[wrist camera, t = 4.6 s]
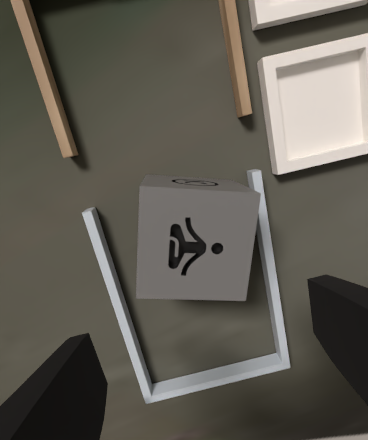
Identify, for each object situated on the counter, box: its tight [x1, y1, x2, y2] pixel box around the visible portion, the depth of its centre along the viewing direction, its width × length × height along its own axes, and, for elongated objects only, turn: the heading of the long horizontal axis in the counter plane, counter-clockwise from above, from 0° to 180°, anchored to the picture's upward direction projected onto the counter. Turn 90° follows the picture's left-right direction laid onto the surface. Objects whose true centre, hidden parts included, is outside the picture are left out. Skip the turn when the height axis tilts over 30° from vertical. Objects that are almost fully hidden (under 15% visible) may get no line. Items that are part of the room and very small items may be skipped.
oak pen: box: [11, 0, 252, 158], centre depth 14 cm, size 10×8×1 cm
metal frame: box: [82, 169, 290, 404], centre depth 17 cm, size 10×14×1 cm
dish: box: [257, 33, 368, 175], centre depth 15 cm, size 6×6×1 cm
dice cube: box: [136, 174, 261, 301], centre depth 14 cm, size 5×5×5 cm
